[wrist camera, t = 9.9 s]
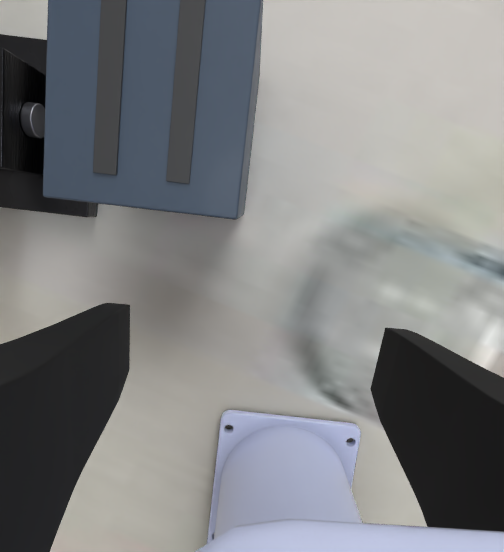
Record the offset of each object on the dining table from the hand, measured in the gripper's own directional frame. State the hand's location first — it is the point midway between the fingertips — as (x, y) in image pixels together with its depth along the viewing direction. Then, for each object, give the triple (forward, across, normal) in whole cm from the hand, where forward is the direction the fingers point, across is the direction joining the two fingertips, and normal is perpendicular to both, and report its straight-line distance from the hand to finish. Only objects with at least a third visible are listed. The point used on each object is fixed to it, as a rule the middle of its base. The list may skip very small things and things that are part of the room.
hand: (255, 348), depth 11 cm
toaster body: (+12, +3, -5) cm, 13 cm away
